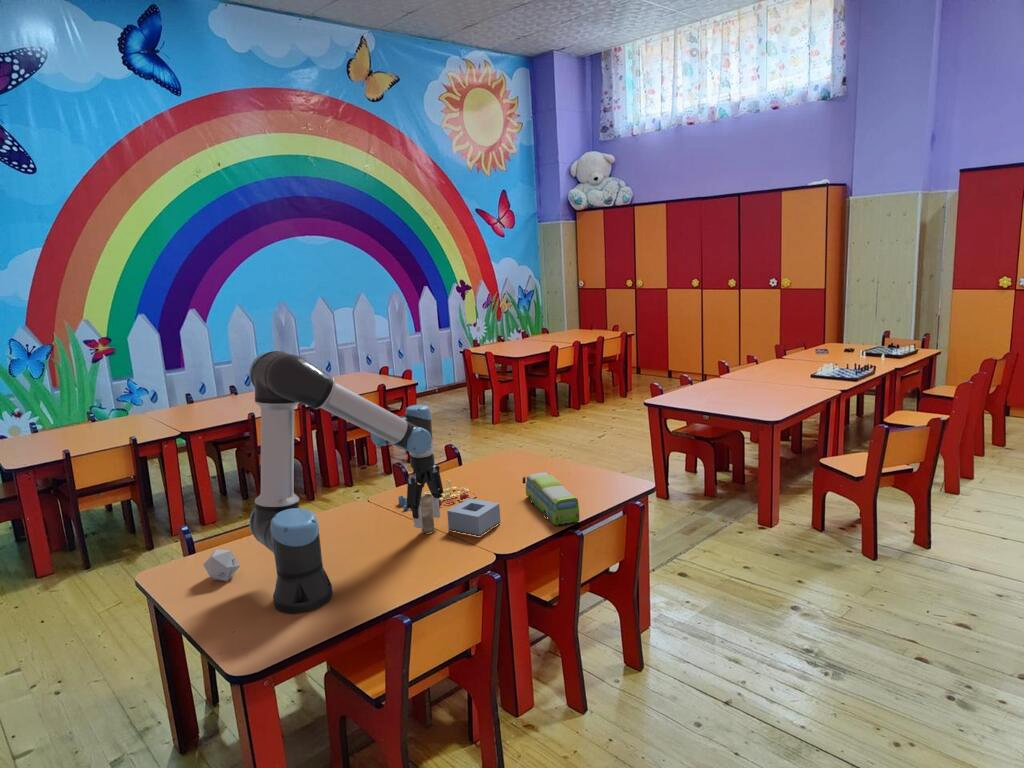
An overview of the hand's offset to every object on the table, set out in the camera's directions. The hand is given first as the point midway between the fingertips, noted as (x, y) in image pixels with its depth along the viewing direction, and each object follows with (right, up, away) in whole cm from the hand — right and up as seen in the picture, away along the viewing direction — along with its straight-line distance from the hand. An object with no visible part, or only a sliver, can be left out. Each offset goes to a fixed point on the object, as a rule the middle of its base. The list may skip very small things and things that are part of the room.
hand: (427, 521), depth 223 cm
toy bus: (+41, +1, +13) cm, 43 cm away
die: (-56, -12, -24) cm, 61 cm away
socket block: (+15, -2, +2) cm, 15 cm away
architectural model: (+8, +3, +32) cm, 33 cm away
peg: (0, -3, +1) cm, 3 cm away
